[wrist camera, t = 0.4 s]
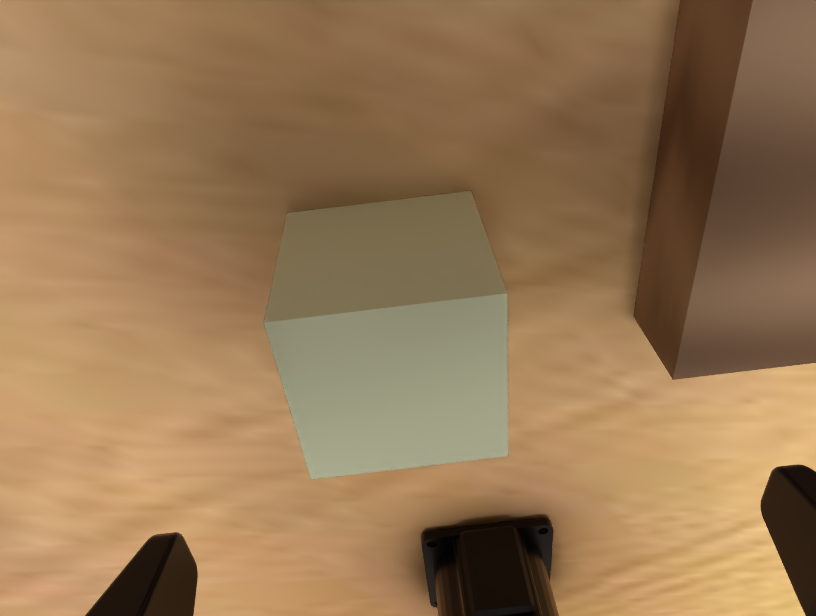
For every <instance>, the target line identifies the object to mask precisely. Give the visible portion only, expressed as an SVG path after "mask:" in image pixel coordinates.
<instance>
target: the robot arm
mask: <svg viewBox="0 0 816 616" xmlns="http://www.w3.org/2000/svg"><path fill="white" fill-rule="evenodd" d="M761 512H762V516H763V519H764V521H765V523H766V526H767V528H768V530H769V533H770V535H771V537H772V540H773V542H774V544H775V547H776V549H777V551H778V553H779V556H780V558H781V560H782V563H783V565H784V567H785V570H786V572H787V574H788V577H789V579H790V581H791V584H792V586H793V588H794V591H795V593H796V595H797V597H798V600H799V602H800V604H801V606H802V608H803V610H804V613H805V615H806V616H816V472H815V471H814V470H812V469H810V468H809V467H806V466H804V465H789V466H780V467H776V468H775V469H773V470H772V472H771V474H770V477H769V480H768V482H767V485H766V488H765V491H764V494H763V496H762V499H761ZM421 542H422V550H423V556H424V563H425V570H426V576H427V583H428V590H429V596H430V603H431V605H432V606H433V607H437V608H438V616H559V614H558V611H557V607H556V603H555V600H554V596H553V592H552V589H551V585H550V571H551V557H552V542H553V527H552V524H551V521H550V520H549V519H547V518H538V519H529V520H521V521H512V522H504V523H496V524H487V525H479V526H470V527H462V528H453V529H445V530H437V531H429V532H426V533H424V534H423V535H422V537H421ZM197 577H198V572H197V566H196V562H195V560H194V558H193V556H192V554H191V552H190V550H189V548H188V546H187V543H186V541H185V539H184V537H183V536H182V535H181V534H180V533H177V532H174V533H165V534H157V535H154V536H152V537H151V538H149V539H148V540H147V541H146V543H145V544H144V545H143V546H142V547H141V549H140V550H139V551H138V552H137V553H136V555H135V556H134V557H133V558H132V560H131V561H130V562H129V563H128V564H127V566H126V567H125V568H124V569H123V570H122V572H121V573H120V574H119V575H118V576H117V578H116V579H115V580H114V581H113V583H112V584H111V585H110V586H109V587H108V589H107V590H106V591H105V592H104V593H103V595H102V596H101V597H100V598H99V599H98V601H97V602H96V603H95V604H94V605H93V607H92V608H91V609H90V610H89V612H88V613H87V614H86V615H85V616H193V614H194V605H195V596H196V587H197Z"/></svg>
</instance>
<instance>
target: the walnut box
mask: <svg viewBox="0 0 816 616" xmlns="http://www.w3.org/2000/svg"><path fill="white" fill-rule="evenodd" d="M634 318H635V320H636V321H637V323H638V324H639V326H640V328H641V329H642V331H643V332H644V334H645V336H646V337H647V339H648V340H649V342H650V344H651V345H652V347H653V348H654V350H655V352H656V353H657V355H658V356H659V358H660V360H661V361H662V363H663V364H664V366H665V368H666V369H667V371H668V372H669V374H670V376H671V377H672V379H673V380H674V379H682V378H691V377H699V376H707V375H716V374H724V373H733V372H741V371H750V370H758V369H767V368H775V367H784V366H792V365H800V364H809V363H816V0H680V6H679V13H678V19H677V26H676V33H675V40H674V46H673V53H672V60H671V67H670V73H669V80H668V87H667V93H666V100H665V107H664V114H663V120H662V127H661V134H660V141H659V147H658V154H657V161H656V168H655V174H654V181H653V188H652V195H651V201H650V208H649V215H648V222H647V228H646V235H645V242H644V248H643V255H642V262H641V269H640V275H639V282H638V289H637V296H636V302H635V309H634Z"/></svg>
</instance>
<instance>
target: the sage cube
mask: <svg viewBox="0 0 816 616" xmlns="http://www.w3.org/2000/svg"><path fill="white" fill-rule="evenodd" d="M264 326H265V329H266V332H267V336H268V339H269V342H270V346H271V349H272V352H273V355H274V359H275V362H276V365H277V369H278V372H279V375H280V379H281V382H282V385H283V388H284V392H285V395H286V398H287V402H288V405H289V408H290V412H291V415H292V418H293V421H294V425H295V428H296V431H297V435H298V438H299V441H300V445H301V448H302V451H303V454H304V458H305V461H306V464H307V468H308V471H309V474H310V478H311V480H313V479H321V478H329V477H338V476H346V475H355V474H363V473H371V472H380V471H388V470H397V469H405V468H413V467H422V466H430V465H439V464H447V463H455V462H464V461H472V460H480V459H489V458H497V457H506V456H508V294H507V290H506V288H505V285H504V282H503V279H502V276H501V274H500V271H499V268H498V265H497V262H496V260H495V257H494V254H493V251H492V248H491V245H490V243H489V240H488V237H487V234H486V231H485V229H484V226H483V223H482V220H481V217H480V215H479V212H478V209H477V206H476V203H475V201H474V198H473V195H472V192H471V191H464V192H456V193H448V194H439V195H431V196H423V197H415V198H407V199H398V200H390V201H382V202H374V203H365V204H357V205H349V206H341V207H333V208H324V209H316V210H308V211H300V212H291V213H287V216H286V220H285V225H284V230H283V234H282V239H281V244H280V248H279V253H278V258H277V262H276V267H275V272H274V276H273V281H272V286H271V290H270V295H269V300H268V304H267V309H266V314H265V318H264Z"/></svg>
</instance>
